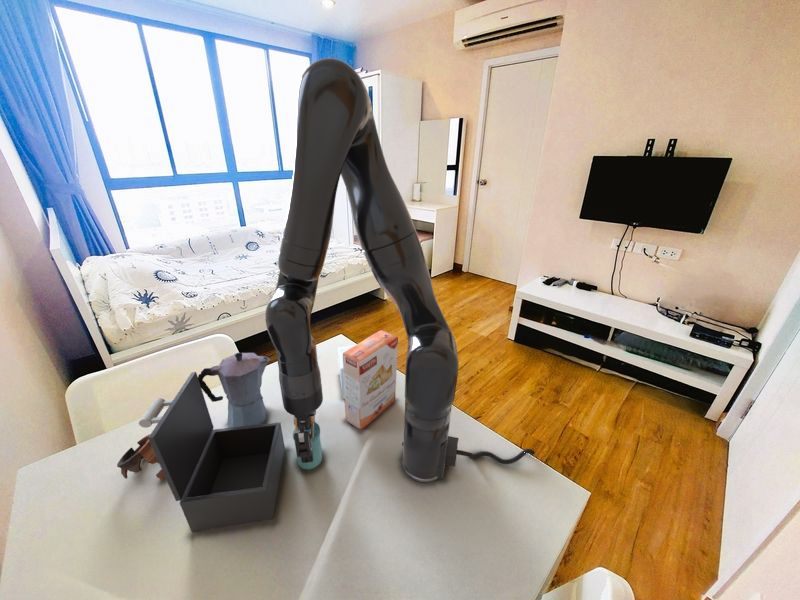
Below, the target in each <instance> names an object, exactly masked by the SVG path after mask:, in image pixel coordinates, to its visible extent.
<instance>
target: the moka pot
mask: <svg viewBox="0 0 800 600" xmlns="http://www.w3.org/2000/svg"><path fill="white" fill-rule="evenodd" d="M269 361H271V359H270V358H269V357H268V356H265V355H264V356H262V355H257V354H256V353H255V352H236V353H234V354H232V355H230V356H228V357H225V358H223V359H222V360H221V361H220V363H218V365H214V366H211V367H206V368H203V369H202V370H201V371H200V373H199V374H198V375H197V377H198V380H199V383H200V386H201V389H202V392H203V393H204V394H206V396H207V397H208V399H210V401H211V402H212V403H214V402H215V403H216V402H221V401H223V399H224V396H223V395H220V396H216V395H215V394H214V393H213V392H212V390H211V388H210V387H209V385H207V383H206V381H204V378H205V377H206V376H210V377H216V376H217V377H218V379H219V381H220V384H221V386H222V389H223V393H224V394H225V396H226V399H227V427H228V428H232V427H241V426H250V425H259V424H263V422H264V421H265V420H266V418H267V408H266V405H265V402H264V397H263V396H262V393H261V387H262V382H263V374H264V372H265V370H266V367H267V365H268V363H269Z"/></svg>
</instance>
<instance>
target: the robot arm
mask: <svg viewBox="0 0 800 600" xmlns="http://www.w3.org/2000/svg"><path fill="white" fill-rule="evenodd" d="M295 120H296V121H295V123H296V124H295V125H296V126H295V148H294V149H295V152H294V164H293V173H292V174H293V175H292V180H291V181H292V182H291V188H290V189H291V190H290V195H289V202H288V206H287V213H286V217H285V223H284V227H283V232H282V237H281V243H280V248H279V253H278V259H277V266H278V267H277V268H278V270H279V272H278V278H277V281H276V286H275V290H274V293H273V295H272V296H271V298H270V299H269V301H268V303H267V305H266V307H265V312H264V313H265V314H264V318H265V319H264V320H265V326H266V330H267V333H268V335H269V338H270V340H271V343H272V345H273V347H274V349H275V352H276V361H277V366H278V381H279V382H278V383H279V387H280V392H281V393H280V394H281V400H282V405H283V409H284V411H285V412H286V413H288V414H289V415H291V416H293V425H294V426H295V427H294V429H295V433H294V439H295V441H294V446H295V445H296V447H295V452H296V451H297V454H296V458H297V457H301V460H302V463H309V462H313V451H312V448H313V445H312V438H313V436H314V422H316V415H317V410H318V409H319V408H320V407H321V405H322V404H323V400H324V394H323V384H322V376H321V368H320V365H319V360H318V359H319V358H318V351H317V343H316V340H315V338H314V336H312V332H311V316H312V312H313V308H314V305H315V301H316V295H317V291H318V290H317V289H318V286H319V279H320V276H321V274H322V271H323V268H324V265H325V261H326V258H327V254H328V249H329V245H330V241H331V236H332V231H333V223H334V213H335V205H336V199H337V198H336V197H337V192H338V188H339V187H338V186H339V182H340V178H341V179H342V181H343V184H344V187H345V190H346V194H347V197H348V202H349V208H350V212H351V217H352V221H353V225H354V230H355V232H356V236H357V239H358V243H359V245H360V248H361V250H362V252H363V255H364V258H365V261H366V262H367V265H368V267H369V269H370V271H371V273H372V275H373V276H374V279H375V280H376V282H377V284H378V285H379V286H380V287H381V289H382V290H383V291H384V293H386V295H387V296H388V297H389V298H390V299H391V301H392V302H393V303H394V305H395V307H396V308H397V310H398V313H399V315H400V318H401V321H402V323H403V326H404V331H405V333H406V338H407V349H406V350H407V351H406V358H405V373H404V418H403V419H404V420H403V423H404V424H403V441H402V442H401V446H402V458H401V459H402V460H401V461H402V462H401V464H402V468H403V470H404V472H405V473H406V475H407V477H409V478H411V479H412V480H414V481H416V482H419V483H431V482H432V483H433V482H435V481H436V480H440V481H442V480H443V479H444V473H445V470H446V469H445V468H446V466H450V467H456V462H457V455H458V456H463V457H468V458H469V459H471V460H474V459H477V458H480V457H489V458H491V459H493V460H494V461H496V462H498V463H499V464H502V465H511V464H514V463H516V462H518V461H520V460H521V459H522V458H524V456H526V455H527V454H531V455H535V454H536V452H535V450H533V449H532V448H525V449H523V450H522V451H520V452H519V453H518V454H517V455H515V456H514V457H512V458H508V459H507V458H506V459H504V458H501V457H499V456H497V455H496V454H495V453H492V452H491V451H478V452H475V453H472V452H470V451H466V450H460V449H458V444H459V437H456V436H451V435H449V433H450V423H451V415H452V407H453V404H454V401H455V399H456V391H457V384H458V376H459V354H458V348H457V342H456V339H455V336H454V333H453V332H452V330H451V327H450V326H449V324H448V321H447V320H446V318H445V316H444V314H443V311H442V309H441V307H440V305H439V303H438V300H437V299H436V295H435V292H434V288H433V282H432V278H431V274H430V270H429V267H428V263H427V260H426V257H425V254H424V249H423V246H422V244H421V241H420V238H419V236H418V235H419V234H418V232H417V230H416V226H415V224H414V221H413V219H412V216H411V214H410V212H409V210H408V208H407V205H406V203H405V201H404V199H403V196H402V194H401V193H400V190H399V188H398V186H397V184H396V182H395V180H394V179H393V177H392V174H391V171H390V169H389V167H388V165H387V162H386V158H385V155H384V152H383V148H382V144H381V141H380V137H379V133H378V129H377V125H376V120H375V116H374V111H373V104H372V101H371V97H370V94H369V92H368V90H367V86H366V84H365V83H364V81H363V79H362V78H361V76H360V75H359V73H358V72H357V71H356V69H354V68H353V66H351V65H350V64H349V63H347V62H345V61H344V60H341V59H338V58H335V57H324V58H321V59H318V60H316V61H314V62H312V63H311V64H310V65H309V66H308V67H307V68H306V69H305V71H303V74H302V75H301V78H300V80H299V82H298V86H297V96H296V119H295ZM309 429H311V432H310V433H309V431H305V430H309ZM294 439H293V440H294ZM524 452H525V453H524ZM526 453H527V454H526Z"/></svg>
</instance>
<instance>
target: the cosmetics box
mask: <svg viewBox="0 0 800 600" xmlns="http://www.w3.org/2000/svg"><path fill="white" fill-rule="evenodd" d="M355 345H356V344H354V345H346V346H339V347H337V358H338V359H337V360H338V371H339V379H340V387H341V394H342V398H343V399H345V394H344V372H343V352H345V351H347V350H348V349H350V348H352V347H353V346H355Z"/></svg>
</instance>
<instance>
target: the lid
mask: <svg viewBox="0 0 800 600" xmlns="http://www.w3.org/2000/svg"><path fill="white" fill-rule="evenodd" d="M164 407H167V409H166V410H165V412H164V414H163V415H162V416H159V415H160V413H162V410H163V409H164ZM153 424H156V425H155V427H154V429H153V430H152V431H151V433H149V434H150V436H149V438H148V439H149V441H150V444H151V446H152V448H153V450H154V453H155V455H156V457H157V459H158V462H159V463H158V462H157V463H158V464H159V466H160V469H162V471H163V473H164V475H165V477H164V478H165V480H166V481H167V482H166V483H167V484H168V486H169V488H170V491H171V493H172V495H173V499H174V500H175V502H180V501H181V499H182V497H183V495H184V493H185V491H186V488H187V486H188V484H189V482H190V479H191V477H192V475H193V473H194V471H195V468H196V466H197V464H198V462H199V459H200V457H201V455H202V453H203V451H204V448H205V446H206V444H207V442H208V439H209V437H210V435H211V433H212V431H213V430H214V428H215V427H214V424H213V421H212V418H211V415H210V411H209V407H208V405H207V402H206V399H205V396H204V391H203V390H202V388H201V386H200V383H199V380H198V374H197V371H192V372H191V373H190V374H189V376H188V377H187V378H186V380H185V382H184V383H183V385H182V386H181V388H180V389H179V391H178V392H177V394H176V395H175V397H174V398H173V399H169V400H166V399H164V398H163V397H162V398H161V397H158V398H155V399H154V400H153V402H152V403H151V405H150V406H149V407H148V409H147V410H146V412H144V414H143V416H142V417H141V418H140V420H139V421H138V425H139V426H140V427H142V428H144V429H146V428H147V429H148V428H151V426H152V425H153Z"/></svg>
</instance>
